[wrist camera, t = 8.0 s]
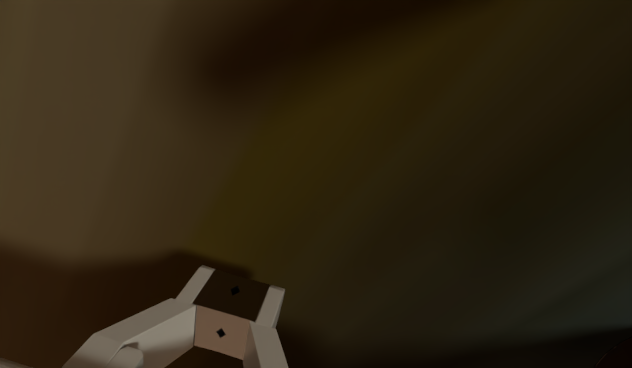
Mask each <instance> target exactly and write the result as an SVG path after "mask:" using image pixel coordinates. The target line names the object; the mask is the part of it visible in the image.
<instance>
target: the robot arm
mask: <svg viewBox="0 0 632 368" xmlns="http://www.w3.org/2000/svg"><path fill="white" fill-rule="evenodd" d="M284 293H285V289H284V288H280V287H277V286H273V285H269V284H266V283H262V282H258V281H255V280H251V279H248V278H243V277H240V276H237V275H233V274H230V273H227V272H224V271H221V270H218V269H213V268H210V267H207V266H204V265H202V266H201V267H199V268H198V269H197V271H196V272H195V273H194V275H193V276H192V277H191V279H190V280H189V281H188V283H187V284H186V285H185V287H184V288H183V289H182V291H181V292H180V293H179V295H178V296H177V297H176V299H173V298H170V299H168V300H166V301H163V302H161V303H159V304H157V305H155V306H153V307H150V308H148V309H146V310H144V311H142V312H140V313H138V314H135V315H133V316H131V317H129V318H127V319H125V320H122V321H120V322H118V323H116V324H114V325H112V326H109V327H107V328H105V329H103V330H101V331H99V332H97V333H94V334H93V335H92V336H91V337H90V338H89V339H88V340H87V341H86V342H85V343H84V344H83V345H82V346H81V347H80V348H79V349H78V351H77V352H76V353H75V354H74V355H73V356H72V357H71V358H70V359H69V360H68V361H67V362H66V363H65V364H64V365H63V366H62V368H165V367H166V366H167V365H169V364H170V363H171V362H173V361H174V360H176V359H177V358H178V357H180V356H181V355H182V354H184V353H185V352H187V351H188V350H189V349H191V348H192V347H193V345H195V346H198V347H202V348H206V349H210V350H213V351H217V352H220V353H223V354H226V355H229V356H232V357H235V358H238V359H241V360H243V366H244V368H288V365H287V362H286V358H285V355H284V352H283V349H282V346H281V343H280V340H279V336H278V333H277V330H276V329H275V328H276V324H277V321H278V317H279V313H280V309H281V305H282V301H283V297H284ZM0 368H33V367H30V366H26V365H23V364H20V363H17V362H13V361H10V360H7V359H4V358H1V357H0Z"/></svg>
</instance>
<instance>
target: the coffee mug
mask: <svg viewBox="0 0 632 368" xmlns="http://www.w3.org/2000/svg"><path fill="white" fill-rule="evenodd" d="M595 368H632V337H631V338H629V339H627V340H625V341H624V342H622V343H620V344H618V345H617V346H616V347H614V348H613V349H612V350H610V351H609V352H608V353H606V354H605V355H604V356H603V358H602V359H601V360H600V361H599V362H598V363H597V364H596V366H595Z"/></svg>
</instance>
